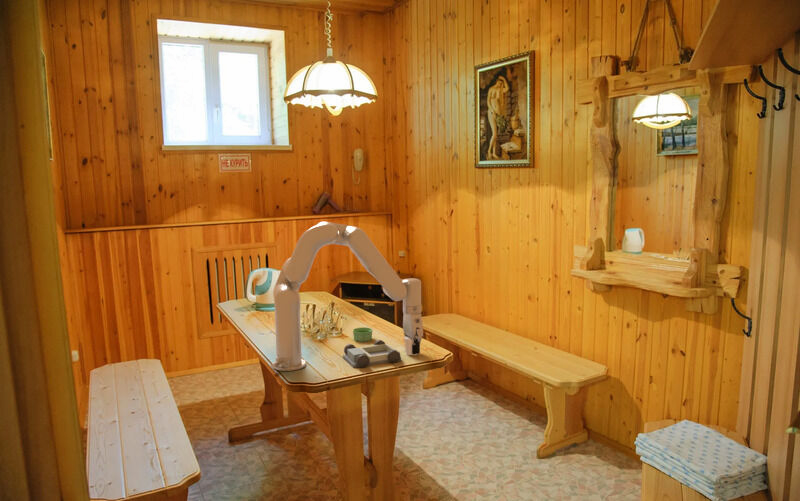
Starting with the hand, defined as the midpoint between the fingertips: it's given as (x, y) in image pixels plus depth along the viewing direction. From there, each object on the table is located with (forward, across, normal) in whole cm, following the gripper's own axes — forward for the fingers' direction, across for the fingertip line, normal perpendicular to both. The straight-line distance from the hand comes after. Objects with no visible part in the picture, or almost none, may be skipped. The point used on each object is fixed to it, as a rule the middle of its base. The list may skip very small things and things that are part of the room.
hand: (412, 350), depth 229 cm
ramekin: (+1, +28, +11) cm, 31 cm away
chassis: (+1, +1, +18) cm, 18 cm away
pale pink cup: (+1, 0, 0) cm, 1 cm away
